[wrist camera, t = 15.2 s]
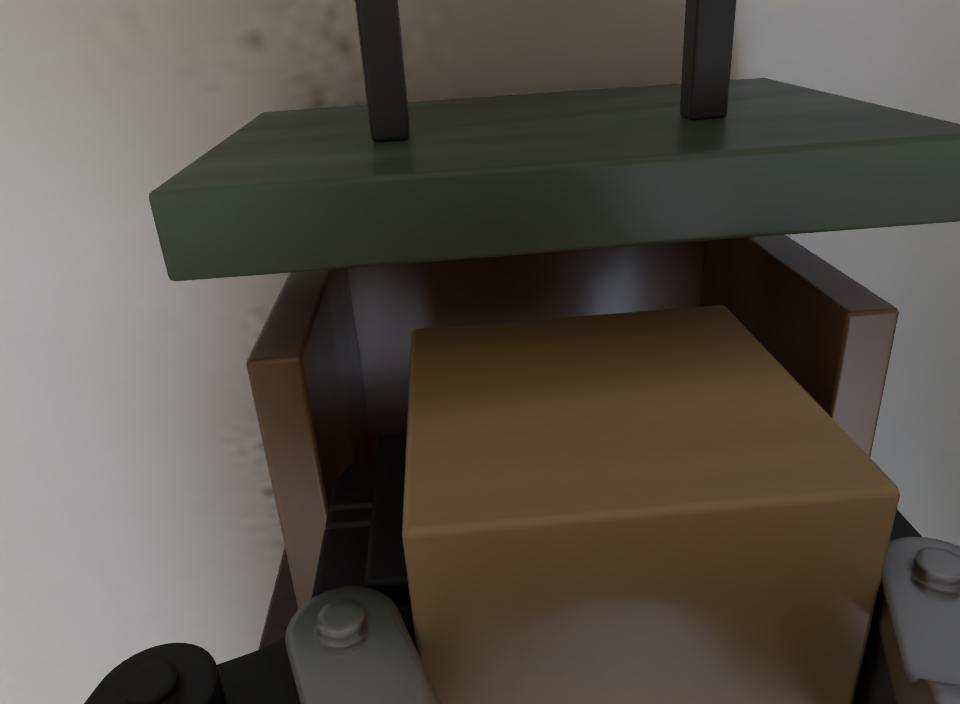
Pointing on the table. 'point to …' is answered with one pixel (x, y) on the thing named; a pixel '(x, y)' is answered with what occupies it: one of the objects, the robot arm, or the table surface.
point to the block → (634, 516)
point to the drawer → (542, 234)
